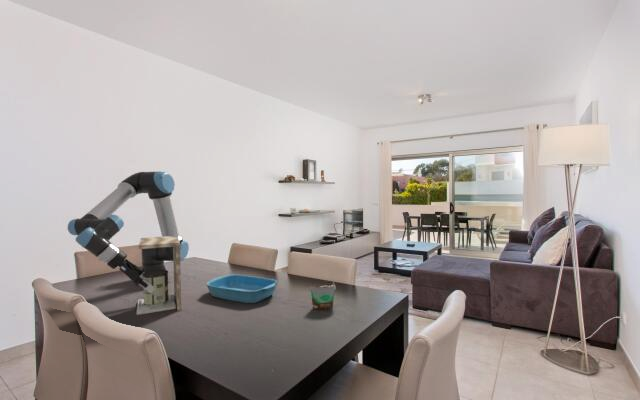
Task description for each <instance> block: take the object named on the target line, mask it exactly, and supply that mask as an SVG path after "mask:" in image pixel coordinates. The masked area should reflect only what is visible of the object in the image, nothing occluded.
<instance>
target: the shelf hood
mask: <svg viewBox="0 0 640 400" xmlns="http://www.w3.org/2000/svg"><path fill="white" fill-rule="evenodd" d="M161 247H173V258H174V261H173V295H174V300H175V305H176V309H177V312H178V311H182V283H181V282H182V281H181V279H182V278H181V272H182V271H181V261H180V242H179V240H178V238H177V236H165V237H162V236H154V237H152V236H151V237H141V238H140V240H139V244H138V250H142V249H148V248H161Z"/></svg>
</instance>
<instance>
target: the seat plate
mask: <svg viewBox="0 0 640 400" xmlns="http://www.w3.org/2000/svg"><path fill="white" fill-rule="evenodd" d="M168 300H169V302H168V303H166V304H164V305H163V303H159V304H152V305H150V307H146V306H144V298H141V299H138V300H137V306H136V307H137V308H136V316H139V315H145V314H150V313H151V314H152V313H158V312H163V311H169V310H176V309H177V306H176V301H175V296H174V294H170V295H169V294H168Z"/></svg>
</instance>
